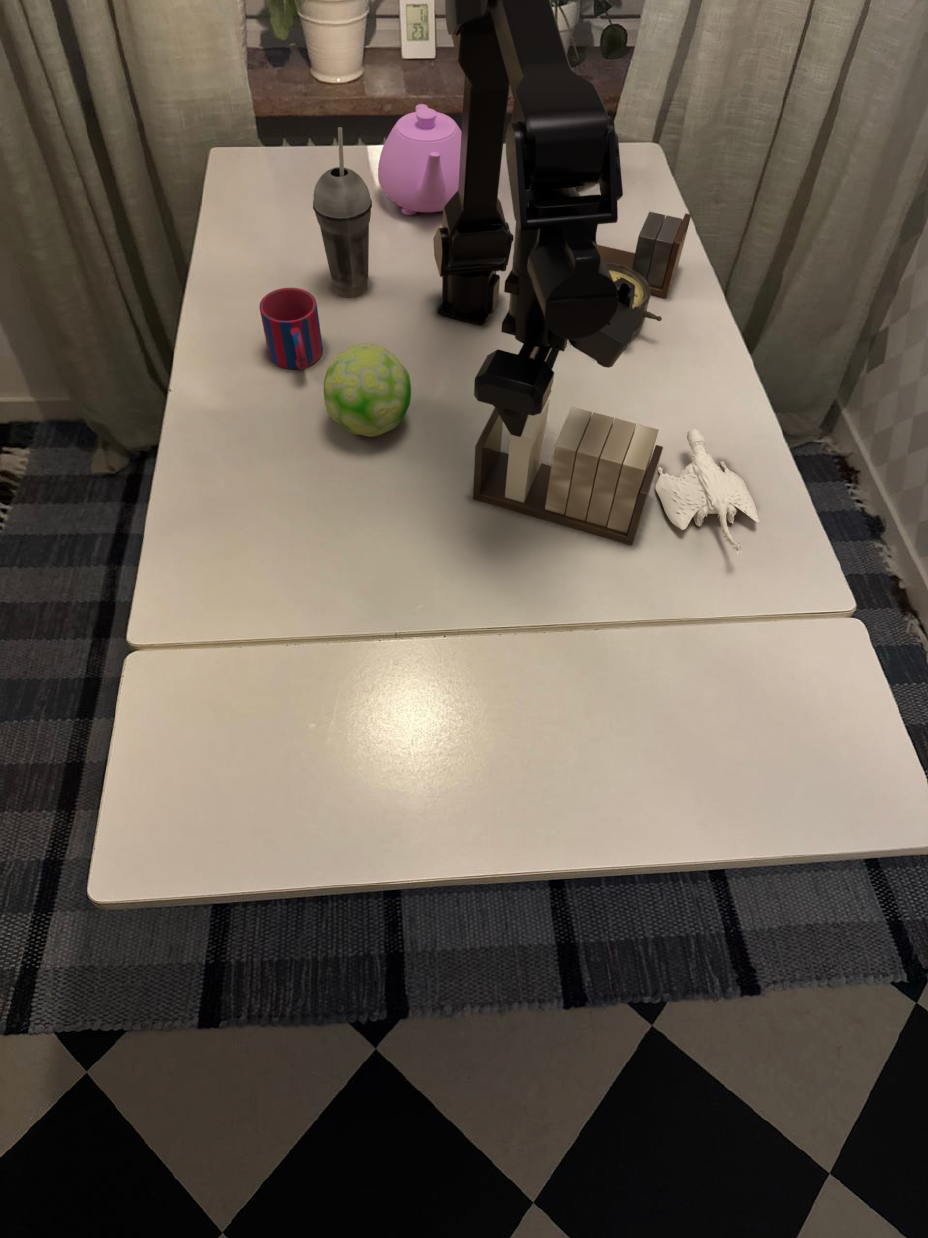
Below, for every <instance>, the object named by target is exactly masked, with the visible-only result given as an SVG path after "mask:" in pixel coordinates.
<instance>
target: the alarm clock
mask: <svg viewBox="0 0 928 1238" xmlns="http://www.w3.org/2000/svg"><path fill="white" fill-rule="evenodd" d="M605 264H606V266H607V268H608V270H609V272H610V275H611V277H612V279H613V281H616V280H618V279H620V278H625V279H626V280H628V281H630V282H631V283H633V284H634V285H635V295H634V303H633V309H634V307H635V306H636V307H638V308H639V310H638V312H637V315H638V317H639V322H638V324H637V327H636V329H635V332H634V334H635V333H636V332H637V331H638V330H640V329H641V328H642V326H643V324H644V322H645V320H646V319H649V320H656V321H657V322H661V321H662V319H663V317H662V316H660V315H656V314H655V313H653V312H651V311H648V307H649V303H650V299H651V296H652V295H651V290H650V287H649V284H648V283H647V281H646V280H645V279H644V278H643V277H642V276H641V275H640V274H639V273H637V272H636V271H634V270H632V269H630V268H628V267H625V266H622V265H619V264H613V263H605ZM627 349H628V346H627V347H626V348H625V350H627Z"/></svg>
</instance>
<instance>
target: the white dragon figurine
mask: <svg viewBox="0 0 928 1238" xmlns="http://www.w3.org/2000/svg"><path fill="white" fill-rule="evenodd" d="M686 439H687V442H688V445H689V447H690V448H691V450H692V458H691V462H689V463H688V465H686V466H685V469H682V474H680V475H679V476H677V477H676V476H675V474H674V473H672V474H669V473H668V472H667V471H666V472H665V473H663V471H664V469H663V467H661V466H658V467H657V471H658V474H659V477H658V479H657V481H656V484H655V491H656V493H657V495H658V497H659V499H660V502H661V505H662V507H663V510H664V512H665V514H666V516H667V518H668V520H669V521H670V522H671V523H672V524H673V525H674V526H675V527H677V528H678V529H680V530H682V531H683V530H686V529H687V528H688V525H689V524H690V523H691V520H692V518H693V521H694V523H695V525H696V526H698V527H701V526H703V523H704V518H705V517H708V515H709V514H710V515H711V514H712V515H713V514H714V515H715V514H717V519H719V520H718V521H719V524H720V529H721V534H722V535H723V538H725V539H724V542H726V543H729V545H730V546H732V550H733V551H734V550H736V554H737V555H739V551H740V553H741V554H742V546H741V544H740V543H737V542H736V541H735V540H734V539H733V537H732V535H731V533H730V531H729V527H728V523H731V524H734V522H735V515H736V514H737V513H738V510H740V511H741V512H743V513H744V514H745V515H747V516H748V517H749V518H750V519H752V520H753V521H754V522H756V523H760V519H759V516H758V510H757V507H756V506H757V505H756V503H755V501H754V499H753V497H752V495H751V493H750V491H749V488H748V487H747V485H746V483H745V481H744V480H743V478H741V477H740V476H739V475H737V474H736V472H733V471H731V470H730V469H729V468H728V467H727V465H726V462H725V461H724V460H722V461H719V463H720V466H718V464H717V463H715V461H714V459H713V458H712V457H713V456H711V455H710V454H709V453H707V450H706V449H707V448H706V447H705V445H706V442H705V438H704V436H703V435H702V434H701V432H700V431H699V430H698V429H696V428H693V429H689V430H688V431H687V434H686ZM721 467H722V468H723V470H722V468H721ZM737 509H738V510H737ZM727 522H728V523H727Z"/></svg>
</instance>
